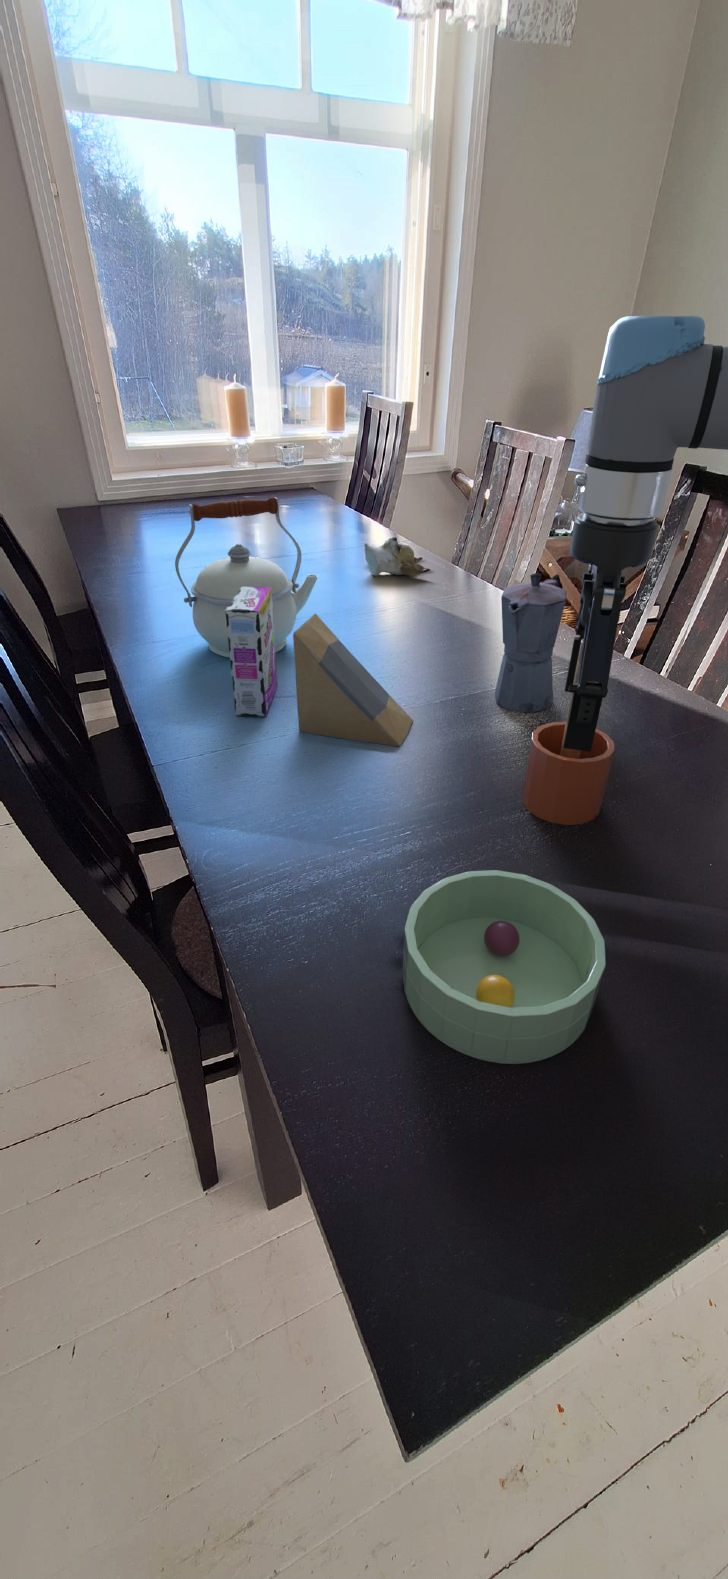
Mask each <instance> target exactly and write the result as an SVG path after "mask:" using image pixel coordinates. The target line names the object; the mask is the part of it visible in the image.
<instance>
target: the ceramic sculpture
mask: <svg viewBox="0 0 728 1579" xmlns="http://www.w3.org/2000/svg"><path fill="white" fill-rule="evenodd" d="M363 547H364V557H365V558H364V560H365V562H366V563H367V566H368V570H369V572H370V574H371V575H373V576H375V577H377V576H379V575H380V574H381V573H386V574H387V573H388V574H391V575H393V574H395V575H396V576H402V575H408V576H418V575H423V574H425V573H428V572H430V571H431V569H430V568H427V567H424V566H423V565H422V564H420V563H419V562H421V561H422V560H423V557H420V556H419V557H416V556H415V552H414V549H413V548H412V546H411V545H410V544H408V543H407V542H404V541H402V542H400V541H398V538H397V536H395V537H390V538H388V539H387V540H385V541H384V543H383V544H381V545H378V546H377V545H374V544H370V543H367V542H366V543H365V542H364V545H363ZM395 575H394V576H395Z"/></svg>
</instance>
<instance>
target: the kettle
mask: <svg viewBox="0 0 728 1579" xmlns="http://www.w3.org/2000/svg"><path fill="white" fill-rule="evenodd" d="M188 507H189V510H188V515H189V516H190V523H191V524H190V525H191V527H190V531H189V533H188V535H187V537H186V538H185V539H184V541H183V543H182V544H181V546H180V548H179V549H178V552H177V554H176V556H175V560H174V567H175V573H176V575H177V577H178V580H179V581H180V584H181V586H183V588H184V590H185V592H186V594H187V597H184V598H183V602H184V603H185V604H186V603H188V606H189V607H190V608H192V622H193V625H194V628H195V630H196V631H197V633H198V634H199V636H200V637H201V638H202V639H203V640H205V641H206V642H207V644H208V649H209V650H210V651H211V652H213V653H214V654H215V655H218V656H220V657H225V658H229V659H230V653H229V643H228V633H227V622H226V614H225V610H226V609H227V607H228V606H229V604H230V603H231V601H232V600H233V598H234V597H235V596H236V594H237V593H238V591H239V590H240V588H241V587H268V588H272V603H273V619H274V638H275V654H276V653H278V652H279V651H281V650H282V649H284V647H285V646H286V644H287V638H288V636H289V635H290V634H291V632H292V631H293V629H294V627H295V624H296V619H297V615H298V614H299V613H300V612H301V610H302V609H303V608H304V607H305V605H306V603H307V601H308V600H309V597H310V596H311V593H312V591H313V589H314V588H315V586H316V582H317V580H318V578H319V576H318V575H315V574H307V576H306V577H305V579H304V581H303V582H302V583H301V585H300V584H299V583H298V582H296V581H297V578H298V575H299V572H300V569H301V564H302V550H301V546H300V544H299V543H298V541H297V540H296V539H295V538H294V537H293V535H291V533H290V532H289V531H288V530H287V529H286V527H285V526H284V525H283V524H282V521H281V517H280V509H279V508H280V502H279V498H278V497H276V496H269V497H268V498H267V499H257V498H256V499H253V498H249V499H248V498H247V499H242V500H240V499H237V500H235V499H234V500H228V501H215V502H210V503H206V504H201V505H200V504H198V503H197V502H195V503H192V504H191V503H190V504H189V506H188ZM265 513H269V514H271V515H275V516H274V517H275V520H276V523H277V524H278V525H279V527H280V528H281V529H282V531H284V533H285V534H286V535H287V536H288V537H289V538H290V539H291V541H292V543H293V544H294V546H295V548H296V554H297V555H296V563H295V567H294V570H293V573H292V576H291V578H289V577H287V575H286V573H285V571H284V570H283V569H282V568H281V567H280V566H279V565H278V564H276V563H274V562H273V561H270V560H268V559H266V558H262V557H257V556H251V555H252V551H251V550H249V548H248V547H246V546H245V545H242V544H241V543H236V544H235V545H234V546H232V547H230V549H229V550H228V552H227V556H228V557H224V558H221V559H217V560H215V561H213V562H211V563H209V564H208V565H206V566H205V567H203V568H202V570H200V572H199V574H198V575H197V577H196V581H194V583H193V584H192V585H191V586H190V591H189V590H188V588H187V586H186V585H185V582H184V581H183V579H182V577H181V573H180V568H179V563H180V559H181V557H182V554H183V553H184V551H185V550H186V548H187V547H188V545H189V543H190V541H191V539H192V538H193V536H194V535H195V530H196V522H200V521H201V520H203V519H227V518H238V517H239V518H242V517H252V516H258V515H261V514H265ZM190 592H191V593H190ZM191 594H192V595H193V596H192V595H191Z"/></svg>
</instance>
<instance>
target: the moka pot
mask: <svg viewBox="0 0 728 1579" xmlns="http://www.w3.org/2000/svg"><path fill="white" fill-rule="evenodd" d="M541 580H542V574H541V573H537V572H533V573H531V574H530V582H527V581H526V582H521V583H517V584H512V585H508V586H505V587H504V588H503V592H502V594H501V597H500V598H501V599H500V600H501V623H502V624H501V625H502V626H501V628H502V629H501V630H502V644H504V645H503V655H502V660H501V663H500V668H499V673H498V677H497V681H496V685H495V691H494V699H495V702H496V703H497V704H498V705H499V706H501V707H502V708H504V709H507V710H510V711H513V712H517V713H518V712H519V713H535V712H540V711H542V710H546V709H547V708H548V707H549V706H550V705H551V704H552V703H553V700H554V688H553V686H554V685H553V658H552V656H553V651H554V647H555V644H556V642H557V636H558V633H559V629H560V626H561V621H562V618H563V613H564V610H565V606H566V602H567V595H568V594H567V593H568V591H567V590H566V589H563V588H564V586H563V583H562V582H561V578H560V575H559V573H558V574H554V575H553V576H552V577H551V578H546V579H545V580H544V581H543V582H541Z"/></svg>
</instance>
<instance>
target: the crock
mask: <svg viewBox="0 0 728 1579" xmlns="http://www.w3.org/2000/svg"><path fill="white" fill-rule="evenodd" d="M565 724H566V721H557V722H548V723H546V724H542V725H539V726H538V727H537V728H535V729H534V730H533V731H532V733H531V737H530V738H531V739H530V745H529V751H528V757H527V762H526V763H527V764H526V770H525V776H524V782H523V787H522V788H523V789H522V796H521V802H522V804H523V805H524V807H525V809H526V810H527V811H528V812H530V813H531V814H532V815H533V816H535V817H537V818H539V819H541V820H544V821H546V822H549V823H551V824H558V825H565V826H573V825H574V826H575V825H583V824H586V823H588V822H590V821H593V820H595V819H596V817H597V816H598V815H599V814H600V812H601V808H602V804H603V800H604V796H605V792H606V787H607V783H608V779H609V775H610V772H611V767H612V762H613V758H614V754H615V742H614V740H613V739H612V738H611V737H610V736H609V735H608V734H607V733H605V732H603V731H601V730H600V729H598V728H596V730H595V735H594V739H593V744H592V748H591V752H589V751H581V753H580V758H579V759H576V758H568V757H563V756H560V751H561V746H562V740H563V735H564V730H565Z"/></svg>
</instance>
